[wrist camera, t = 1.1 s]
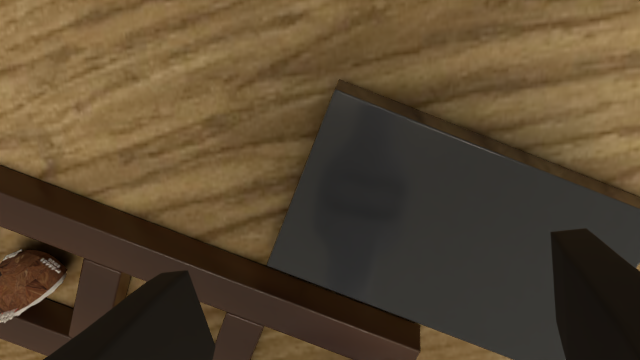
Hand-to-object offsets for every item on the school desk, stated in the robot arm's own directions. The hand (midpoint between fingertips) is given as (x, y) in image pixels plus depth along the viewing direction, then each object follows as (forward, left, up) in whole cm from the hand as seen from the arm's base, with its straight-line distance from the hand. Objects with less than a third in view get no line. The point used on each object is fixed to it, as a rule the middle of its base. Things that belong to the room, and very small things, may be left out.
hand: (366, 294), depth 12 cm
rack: (-12, +5, -10) cm, 16 cm away
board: (-3, -4, -10) cm, 11 cm away
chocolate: (-12, +11, -10) cm, 19 cm away
